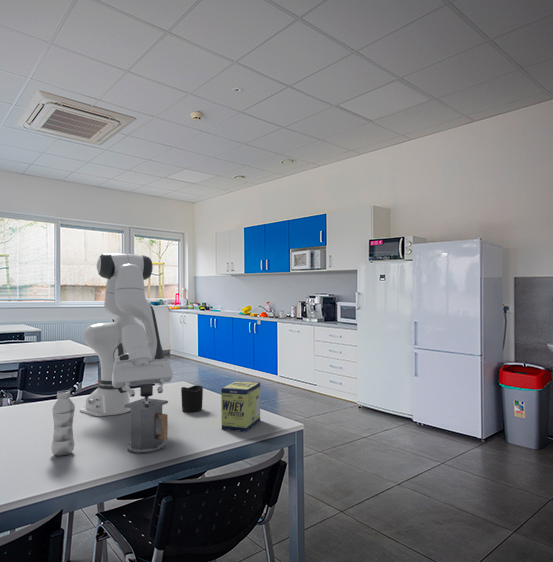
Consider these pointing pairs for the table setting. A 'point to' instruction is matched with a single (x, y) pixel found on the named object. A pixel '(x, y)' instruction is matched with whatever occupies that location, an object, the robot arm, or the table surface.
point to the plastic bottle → (63, 424)
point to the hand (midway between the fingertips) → (146, 393)
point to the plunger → (146, 391)
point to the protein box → (240, 405)
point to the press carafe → (147, 426)
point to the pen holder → (192, 399)
